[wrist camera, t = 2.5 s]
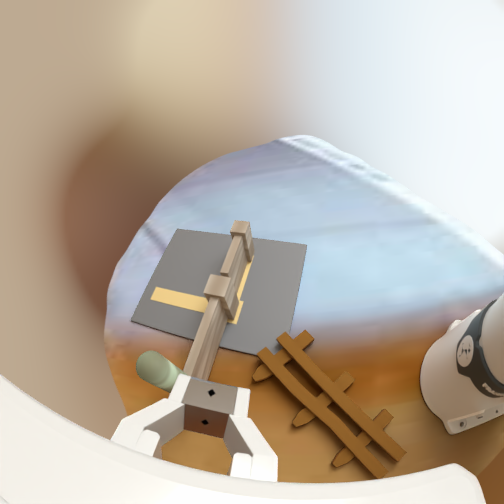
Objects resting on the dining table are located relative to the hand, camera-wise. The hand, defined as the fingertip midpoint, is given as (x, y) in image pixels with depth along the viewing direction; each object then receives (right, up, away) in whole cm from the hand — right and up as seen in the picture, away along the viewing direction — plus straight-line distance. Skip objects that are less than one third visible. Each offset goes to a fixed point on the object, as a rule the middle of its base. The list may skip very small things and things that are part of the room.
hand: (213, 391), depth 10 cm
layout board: (-4, 0, +36) cm, 36 cm away
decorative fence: (+12, -15, +21) cm, 28 cm away
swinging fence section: (-4, -8, +28) cm, 29 cm away
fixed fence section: (0, +2, +36) cm, 36 cm away
